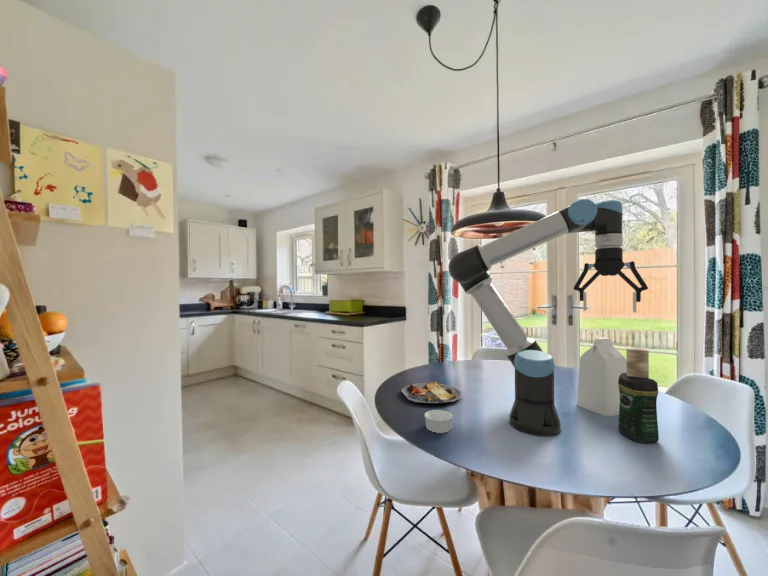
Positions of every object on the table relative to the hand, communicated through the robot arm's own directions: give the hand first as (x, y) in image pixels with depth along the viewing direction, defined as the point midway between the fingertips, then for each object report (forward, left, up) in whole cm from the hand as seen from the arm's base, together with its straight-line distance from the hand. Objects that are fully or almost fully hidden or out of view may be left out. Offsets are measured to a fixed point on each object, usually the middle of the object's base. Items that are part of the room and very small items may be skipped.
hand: (608, 311), depth 108 cm
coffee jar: (+7, -9, -37) cm, 39 cm away
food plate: (-61, -11, -37) cm, 72 cm away
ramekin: (-45, -37, -37) cm, 69 cm away
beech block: (+7, -9, -18) cm, 21 cm away
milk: (-2, +12, -37) cm, 39 cm away
